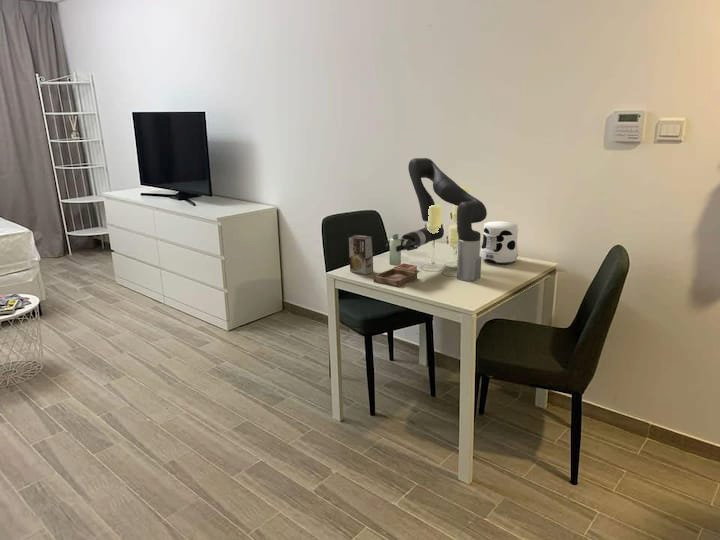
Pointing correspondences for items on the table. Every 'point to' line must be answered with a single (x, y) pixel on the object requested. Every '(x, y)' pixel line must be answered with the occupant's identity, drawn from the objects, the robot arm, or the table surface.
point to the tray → (395, 277)
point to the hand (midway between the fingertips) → (391, 248)
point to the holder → (407, 266)
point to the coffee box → (361, 254)
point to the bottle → (394, 255)
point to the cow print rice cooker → (499, 242)
